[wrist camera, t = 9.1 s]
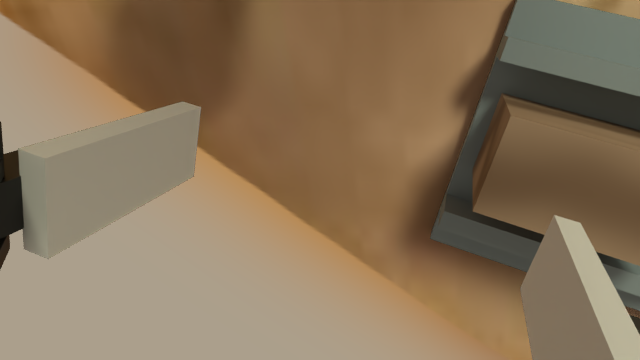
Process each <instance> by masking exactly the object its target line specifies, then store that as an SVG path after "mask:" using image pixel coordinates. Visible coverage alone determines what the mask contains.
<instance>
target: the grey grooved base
mask: <svg viewBox="0 0 640 360" xmlns="http://www.w3.org/2000/svg"><path fill="white" fill-rule="evenodd" d="M502 93H504V94H508V95H511V96H515V97H519V98H522V99H526V100H530V101H534V102H537V103H541V104H545V105H548V106H552V107H556V108H559V109H563V110H567V111H571V112H574V113H578V114H582V115H585V116H589V117H593V118H596V119H600V120H604V121H607V122H611V123H615V124H619V125H622V126H626V127H630V128H633V129H637V130H640V19H636V18H631V17H627V16H622V15H618V14H613V13H609V12H605V11H600V10H596V9H591V8H587V7H582V6H578V5H573V4H569V3H564V2H560V1H555V0H516V1H515V4H514V7H513V10H512V12H511V15H510V18H509V21H508V23H507V26H506V29H505V31H504V34H503V37H502V40H501V42H500V45H499V48H498V51H497V53H496V56H495V59H494V62H493V64H492V67H491V70H490V73H489V75H488V78H487V81H486V83H485V86H484V89H483V92H482V94H481V97H480V100H479V103H478V105H477V108H476V111H475V114H474V116H473V119H472V122H471V125H470V127H469V130H468V133H467V135H466V138H465V141H464V144H463V146H462V149H461V152H460V155H459V157H458V160H457V163H456V166H455V168H454V171H453V174H452V177H451V179H450V182H449V185H448V188H447V190H446V193H445V196H444V198H443V201H442V204H441V207H440V209H439V212H438V215H437V218H436V220H435V223H434V226H433V229H432V231H431V236H430V239H432V240H435V241H438V242H441V243H444V244H447V245H450V246H453V247H456V248H458V249H461V250H464V251H467V252H470V253H473V254H476V255H479V256H482V257H485V258H488V259H490V260H493V261H496V262H499V263H502V264H505V265H508V266H511V267H514V268H517V269H519V270H522V271H525V272H528V270H529V268H530V266H531V263H532V261H533V259H534V257H535V255H536V253H537V251H538V248H539V246H540V244H541V242H542V240H543V238H544V235H543V234H540V233H537V232H534V231H531V230H528V229H525V228H522V227H519V226H516V225H513V224H510V223H507V222H504V221H500V220H497V219H494V218H491V217H488V216H485V215H482V214H479V213H476V212H473V167H474V164H475V162H476V159H477V156H478V154H479V151H480V149H481V146H482V143H483V141H484V138H485V136H486V133H487V130H488V128H489V125H490V123H491V120H492V117H493V115H494V112H495V109H496V107H497V104H498V102H499V99H500V96H501V94H502ZM596 253H597V255H598V257H599V259H600V261H601V263H602V264H603V266H604V268H605V270H606V272H607V274H608V276H609V278H610V280H611V281H612V283H613V285H614V287H615V289H616V291H617V293H618V295H619V297H620V299H621V300H622V302H623V304H624V306H627V307H630V308H633V309H636V310H638V311H640V266H638V265H635V264H632V263H629V262H626V261H623V260H620V259H617V258H614V257H611V256H608V255H605V254H602V253H598V252H596Z"/></svg>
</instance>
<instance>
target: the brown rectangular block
mask: <svg viewBox="0 0 640 360" xmlns="http://www.w3.org/2000/svg"><path fill="white" fill-rule="evenodd" d="M473 212H476V213H479V214H482V215H485V216H488V217H491V218H494V219H497V220H500V221H504V222H507V223H510V224H513V225H516V226H519V227H522V228H525V229H528V230H531V231H534V232H537V233H540V234H543V235H545V233H546V231H547V229H548V227H549V225H550V223H551V220H552V218H553V216H554V215H556V216H559V217H563V218H566V219H569V220H573V221H576V222H579V223H581V225H582V227H583V228H584V230H585V232H586V234H587V236H588V238H589V240H590V242H591V244H592V246H593V247H594V249H595V251H596V252H598V253H602V254H605V255H608V256H611V257H614V258H617V259H620V260H623V261H626V262H629V263H632V264H635V265H638V266H640V130H637V129H633V128H630V127H626V126H622V125H619V124H615V123H611V122H607V121H604V120H600V119H596V118H593V117H589V116H585V115H582V114H578V113H574V112H571V111H567V110H563V109H559V108H556V107H552V106H548V105H545V104H541V103H537V102H534V101H530V100H526V99H522V98H519V97H515V96H511V95H508V94H504V93H502V94H501V96H500V99H499V102H498V104H497V107H496V109H495V112H494V115H493V117H492V120H491V123H490V125H489V128H488V130H487V133H486V136H485V138H484V141H483V143H482V146H481V149H480V151H479V154H478V156H477V159H476V162H475V164H474V167H473Z"/></svg>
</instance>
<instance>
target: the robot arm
mask: <svg viewBox="0 0 640 360" xmlns="http://www.w3.org/2000/svg"><path fill="white" fill-rule="evenodd" d="M200 114H201V107H199V106H196V105H193V104H189V103H186V102H183V101H182V102H179V103H175V104H172V105H169V106H165V107H162V108H158V109H155V110H151V111H148V112H144V113H141V114H137V115H134V116H130V117H127V118H123V119H120V120H116V121H113V122H110V123H106V124H103V125H99V126H96V127H92V128H89V129H85V130H82V131H78V132H75V133H71V134H68V135H64V136H61V137H57V138H54V139H50V140H47V141H43V142H40V143H37V144H33V145H30V146H26V147H23V148H20V149H18V150H17V151H13V152H10V153H7V154H3V142H2V128H1V122H0V269H1V267H2V265H3V262H4V260H5V258H6V255H7V253H8V251H9V249H10V240H9V235H10V234H12V233H14V232H16V231H18V230H21V229H23V242H24V249H25V250H28V251H30V252H32V253H35V254H37V255H40V256H42V257H44V258H47V259H49V258H51V257H53V256H55V255H56V254H58V253H60V252H62V251H63V250H65V249H67V248H69V247H70V246H72V245H74V244H75V243H78V242H79V241H81V240H83V239H85V238H86V237H88V236H90V235H92V234H93V233H95V232H97V231H99V230H100V229H102V228H104V227H106V226H107V225H109V224H111V223H113V222H114V221H116V220H118V219H120V218H121V217H123V216H125V215H127V214H129V213H130V212H132V211H133V210H135V209H137V208H139V207H141V206H143V205H144V204H146V203H148V202H150V201H151V200H153V199H155V198H157V197H158V196H160V195H162V194H164V193H165V192H167V191H169V190H171V189H172V188H174V187H176V186H178V185H180V184H181V183H183V182H185V181H186V180H188V179H190V178H192V177H193V176H194V169H195V160H196V151H197V142H198V132H199V123H200ZM520 291H521V297H522V302H523V308H524V314H525V319H526V325H527V331H528V336H529V342H530V348H531V353H532V359H533V360H640V318H637V317H634V316H631V315H629V314H628V312H627V310H626V308H625V306H624V304H623V302H622V300H621V299H620V297H619V295H618V293H617V291H616V289H615V287H614V285H613V283H612V281H611V280H610V278H609V276H608V274H607V272H606V270H605V268H604V266H603V264H602V263H601V261H600V259H599V257H598V255H597V253H596V251H595V249H594V247H593V246H592V244H591V242H590V240H589V238H588V236H587V234H586V232H585V230H584V228H583V227H582V225H581V223H579V222H576V221H573V220H569V219H566V218H563V217H559V216H556V215H554V216H553V218H552V220H551V223H550V225H549V227H548V229H547V231H546V233H545V235H544V238H543V240H542V242H541V244H540V246H539V248H538V251H537V253H536V255H535V257H534V259H533V261H532V263H531V266H530V268H529V270H528V272H527V274H526V276H525V278H524V281H523V283H522V285H521V287H520Z"/></svg>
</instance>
